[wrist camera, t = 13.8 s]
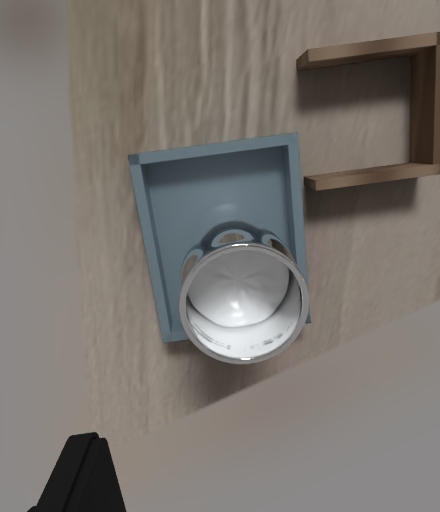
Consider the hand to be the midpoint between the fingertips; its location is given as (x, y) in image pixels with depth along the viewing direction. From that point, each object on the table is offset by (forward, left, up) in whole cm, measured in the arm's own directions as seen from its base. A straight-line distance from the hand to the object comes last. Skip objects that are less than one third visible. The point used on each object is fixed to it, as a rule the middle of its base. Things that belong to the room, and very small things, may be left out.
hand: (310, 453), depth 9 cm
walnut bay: (-12, -7, -26) cm, 30 cm away
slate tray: (+1, +1, -26) cm, 26 cm away
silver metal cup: (+1, +1, -26) cm, 26 cm away
